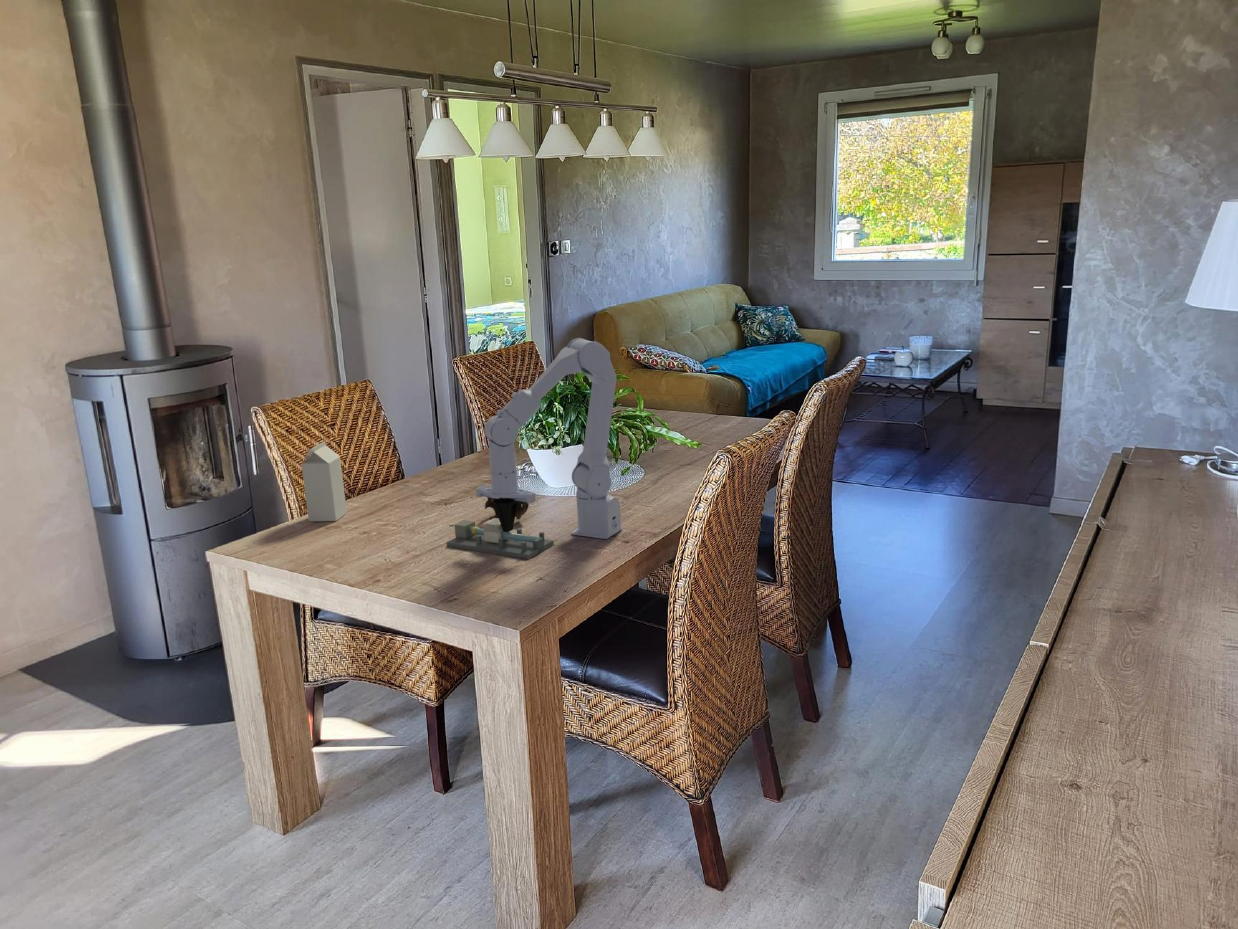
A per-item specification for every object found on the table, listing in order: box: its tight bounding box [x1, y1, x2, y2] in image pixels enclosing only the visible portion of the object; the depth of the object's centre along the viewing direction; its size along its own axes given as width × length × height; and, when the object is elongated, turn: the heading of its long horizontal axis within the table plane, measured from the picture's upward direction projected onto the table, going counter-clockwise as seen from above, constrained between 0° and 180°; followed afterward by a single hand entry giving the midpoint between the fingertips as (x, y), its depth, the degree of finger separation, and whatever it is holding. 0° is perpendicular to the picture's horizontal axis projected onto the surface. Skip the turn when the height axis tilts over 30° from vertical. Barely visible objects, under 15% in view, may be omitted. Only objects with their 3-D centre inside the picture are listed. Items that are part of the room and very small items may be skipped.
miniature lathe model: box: [446, 519, 555, 560], centre depth 204 cm, size 22×10×4 cm, turn 61°
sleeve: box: [482, 518, 511, 543], centre depth 204 cm, size 4×4×4 cm
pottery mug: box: [484, 497, 530, 521], centre depth 222 cm, size 12×10×8 cm
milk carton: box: [301, 440, 348, 522], centre depth 229 cm, size 7×7×19 cm
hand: (508, 530), depth 202 cm, fingers closed
